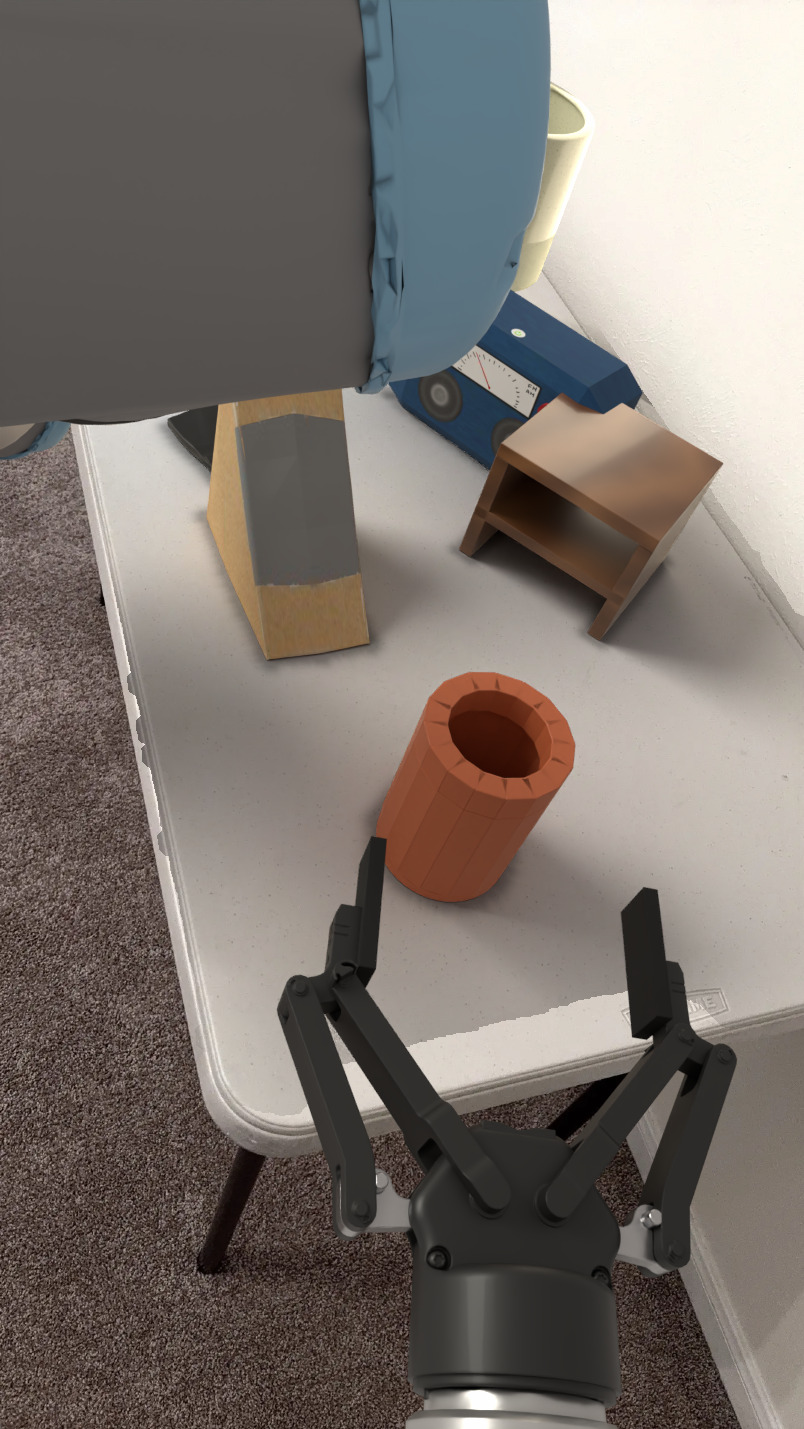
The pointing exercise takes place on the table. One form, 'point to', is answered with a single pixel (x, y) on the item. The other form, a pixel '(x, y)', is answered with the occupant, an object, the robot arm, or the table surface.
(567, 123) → the planter
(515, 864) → the table surface
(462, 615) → the table surface
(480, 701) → the canister
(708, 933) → the table surface
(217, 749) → the table surface
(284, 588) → the sandwich container
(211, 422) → the dark sector wedge
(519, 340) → the radio
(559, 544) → the shelf
